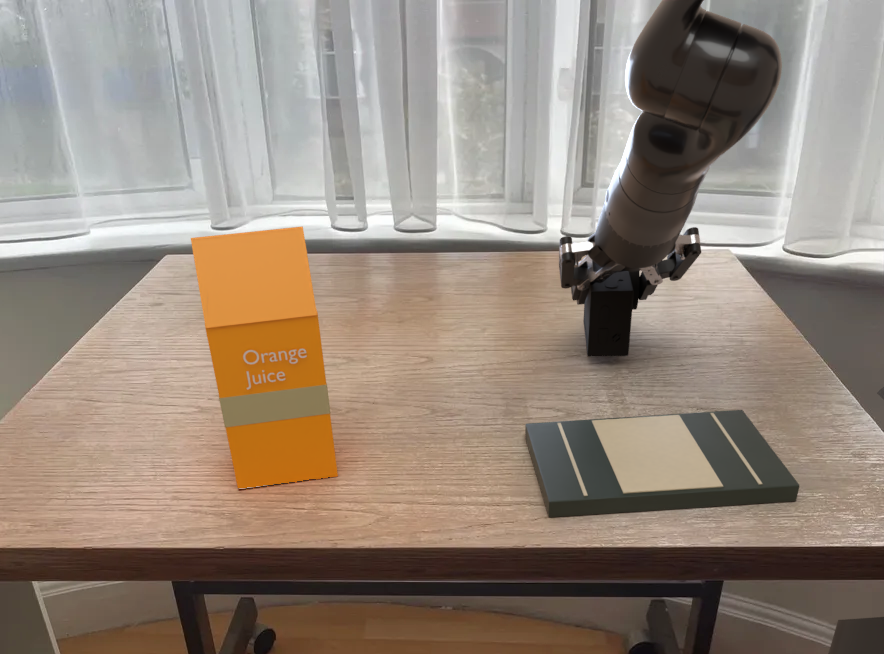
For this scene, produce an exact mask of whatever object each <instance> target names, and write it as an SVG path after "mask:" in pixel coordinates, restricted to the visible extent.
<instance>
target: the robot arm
mask: <svg viewBox="0 0 884 654" xmlns="http://www.w3.org/2000/svg"><path fill="white" fill-rule="evenodd" d="M705 1H706V0H661V1H660V3H659V4H658V6H657V7H656V9H655V10H654V11H653V13H652V15H651V16H650V18H649V19H648V21H646V23H645V25H644V27H643V28H642V30H641V32H640V33H639V35H638V36H637V38H636V40H635V41H634V43H633V45H632V48H631V50H630V53H629V55H628V58H627V61H626V65H625V74H624V82H625V90H626V93H627V97H628V99H629V101H630V103H631V104H632V106H634V108H636V109H638V110H640V111H641V112H640V114H639V115H638V117H637V119H636V120H635V122H634V124H633V126H632V128H631V130H630V133H629V135H628V136H629V137H628V139H627V142H626V146H625V148H624V151H623V155H622V158H621V160H620V162H619V164H618V166H617V167H616V170H615V171H614V173H613V176H612V178H611V181H610V184H609V186H608V188H607V189H606V192H605V197H604V198H605V199H604V202H603V206H602V208H601V212H600V214H599V216H598V220H597V224H596V228H595V231H594V233H592V234H591V235H590V236H589V237H588V238H587V241H580V242H573V237H572V236H569V235H566V236H562V237H560V238H559V242H558V243H559V247H558V248H559V249H558V268H559V269H558V270H559V279H560V287H561V289H564V290H565V289H570V293H571V300H572V301H576V305H578V306H579V305H584V303H585V301H586V298H587V295H588V292H589V287H590V285H593V284H594V283H602V282H603V281H605V280H606V279H607V278H609V277H610V276H611V275H613V274H614V273H617V272H622V271H639V272H641V273H640V284H639V299H638V301H647V299H648V297H649V296H652V295H653V294H654V293H655V291H656V290H657V288H658V285H660V284H662V283H663V282H664V279H669V281H671V282H676V281H679V280H681V279H682V278H683V276H685V274H686V273H687V271H688V270H690V268H691V267H692V265H693V264H694V263H695V261H697V259H698V258H699V257H700V255H701V254H702V247H701V246H702V245H701V237H700V230H699V228H698V227H697V226H693V227H690V228H687V229H686V230H685V231H684V233H683V234H681V232H682V231H683V229H684V226H685V224H686V223H687V221H688V219H689V217H690V214H691V213H692V211H693V208H694V206H695V204H696V201H697V197H698V192H699V190H700V188H701V186H702V184H703V182H704V180H705V179H706V176H707V175H708V172H709V171H710V168H711V166H713V165H714V163H715V162H717V161H718V160H719V158H721V157H722V156H723V155H724V154H725V153H727V152H728V151H729V150H731V149H732V148H733V147H734V146H735V145H736V144H737V143H739V142H740V141H741V140H742V139H743V138H744V137H745V136H746V135H747V134H748V133H749V132H750V131H751V130H752V129H754V127H755V126H756V124H757V123H758V122H759V121H760V120H761V118H762V117H763V116H764V115H765V113H766V112H767V110H768V108H769V106H770V105H771V103H772V101H773V100H774V97H775V96H776V93H777V91H778V88H779V85H780V83H781V82H780V81H781V78H782V71H783V70H782V69H783V61H782V54H781V51H780V47H779V45H778V44H777V41H776V40H775V38H773V37H772V36H771V35H770V34H769V33H767V32H766V31H764V30H761V29H759V28H756V27H754V26H751V25H748V24H745V23H743V24H742V22H740V21H737V20H734V19H731V18H729V17H726V16H723V15H720V14H717V13H715V12H712V11H709V10H706V9H704V8H703V7H702V5H703V4H704V2H705Z"/></svg>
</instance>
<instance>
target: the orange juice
mask: <svg viewBox="0 0 884 654" xmlns="http://www.w3.org/2000/svg"><path fill="white" fill-rule="evenodd" d="M190 243H191V250H192V254H193V255H192V256H193V260H194V267H195V272H196V279H197V284H198V290H199V296H200V302H201V303H200V304H201V309H202V315H203V319H204V320H203V321H204V329H205V333H206V338H207V343H208V347H209V352H210V353H209V354H210V358H211V362H212V367H213V372H214V373H213V374H214V378H215V382H216V387H217V392H218V401H219V405H220V411H221V415H222V420H223V425H224V428H225V432H226V438H227V442H228V446H229V451H230V456H231V461H232V466H233V471H234V477H235V482H236V486H237V489H238V488H247V487H256V486H263V485H273V484H281V483H288V484H290V483H289V482H295V483H298V482H297V481H302V482H304V481H303V480H309V479H316V480H322V479H321V478H323V479H328V477H330V478H336V477H339V473H338V466H337V465H338V464H337V459H336V451H335V450H336V449H335V442H334V433H333V427H332V426H333V425H332V419H331V418H332V417H331V406H330V405H331V404H330V398H329V390H328V383H327V377H326V370H325V362H324V361H325V360H324V353H323V345H322V337H321V329H320V321H319V314H318V313H319V312H318V310H317V305H316V299H315V293H314V287H313V281H312V274H311V269H310V263H309V257H308V250H307V244H306V243H307V242H306V238H305V231H304V226H302V225H301V226H295V227H293V226H292V227H285V228H273V229H263V230H254V231H245V232H235V233H225V234H217V235H206V236H196V237H190ZM309 481H310V480H309ZM281 485H282V484H281Z"/></svg>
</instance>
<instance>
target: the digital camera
mask: <svg viewBox="0 0 884 654" xmlns="http://www.w3.org/2000/svg"><path fill="white" fill-rule="evenodd" d="M640 275H641V273H640V271H622V272H617V273H614V274H613V275H611V276H610V277H609V278H607V279H606V280H605V281H603V282H602V283H594V284H593V285H590V287H589V292H588V295H587V298H586V301H585V303H584V304H583V330H584V337H585V347H586V348H585V349H586V356H587V357H588V358H590V357H591V358H592V357H628V356H629V354H630V342H631V341H630V340H631V328H632V319H633V318H632V317H633V310H634V311H635V310H637V309H638V305H639V284H640Z"/></svg>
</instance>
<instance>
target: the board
mask: <svg viewBox="0 0 884 654" xmlns="http://www.w3.org/2000/svg"><path fill="white" fill-rule="evenodd" d="M524 426H525V428H524V429H525V432H524V438H525V441H526V445H527V448H528V452H529V455H530V458H531V462H532V465H533V466H532V467H533V469H534V473H535V475H536V479H537V483H538V486H539V489H540V492H541V495H542V499H543V502H544V507H545V510H546V514H547V516H548V518H562V517H563V518H564V517H578V516H592V515H607V514H624V513H636V512H638V513H639V512H651V511H652V512H654V511H668V510H683V509H697V508H698V509H699V508H712V507H714V508H715V507H727V506H728V507H729V506H743V505H757V504H758V505H759V504H772V503H773V504H774V503H790V502H797V499H798V494H799V491H800V484H799V483H798V481H797V480H796V479H795V477H794V476H793V475H792V473H791V472H790V471H789V469H788V468H787V466H786V465H785V464H784V463H783V461H782V460H781V459H780V458H779V456H778V455H777V454H776V452H775V451H774V450H773V449H772V447H771V445H770V444H769V443H768V441H767V440H766V439H765V438H764V436H763V435H762V434H761V432H760V431H759V430H758V428H757V427H756V426H755V424H754V423H753V422H752V421H751V419H750V418H749V417H748V416H747V414H746V413H745V411H744V410H743V409H731V410H715V411H702V412H700V411H698V412H685V413H684V412H683V413H670V414H669V413H667V414H654V415H638V416H624V417H623V416H622V417H621V416H619V417H606V418H605V417H604V418H591V419H575V420H560V421H545V422H528V423H525V425H524Z"/></svg>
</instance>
